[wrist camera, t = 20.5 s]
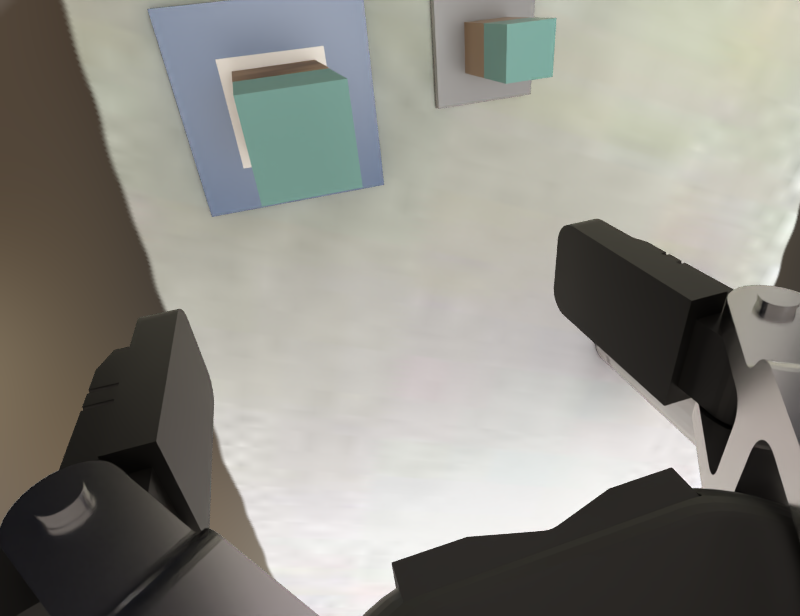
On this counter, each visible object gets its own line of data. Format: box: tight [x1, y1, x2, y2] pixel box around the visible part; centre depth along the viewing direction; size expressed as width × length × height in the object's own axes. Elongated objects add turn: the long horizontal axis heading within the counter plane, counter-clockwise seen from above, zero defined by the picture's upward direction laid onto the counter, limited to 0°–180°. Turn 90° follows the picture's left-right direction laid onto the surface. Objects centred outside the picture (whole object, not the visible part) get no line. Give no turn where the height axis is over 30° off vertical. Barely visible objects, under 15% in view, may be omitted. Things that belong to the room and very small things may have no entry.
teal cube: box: [233, 68, 363, 207], centre depth 25 cm, size 5×5×5 cm
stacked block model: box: [431, 0, 556, 109], centre depth 31 cm, size 7×7×7 cm
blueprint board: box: [148, 0, 384, 217], centre depth 32 cm, size 12×12×1 cm
